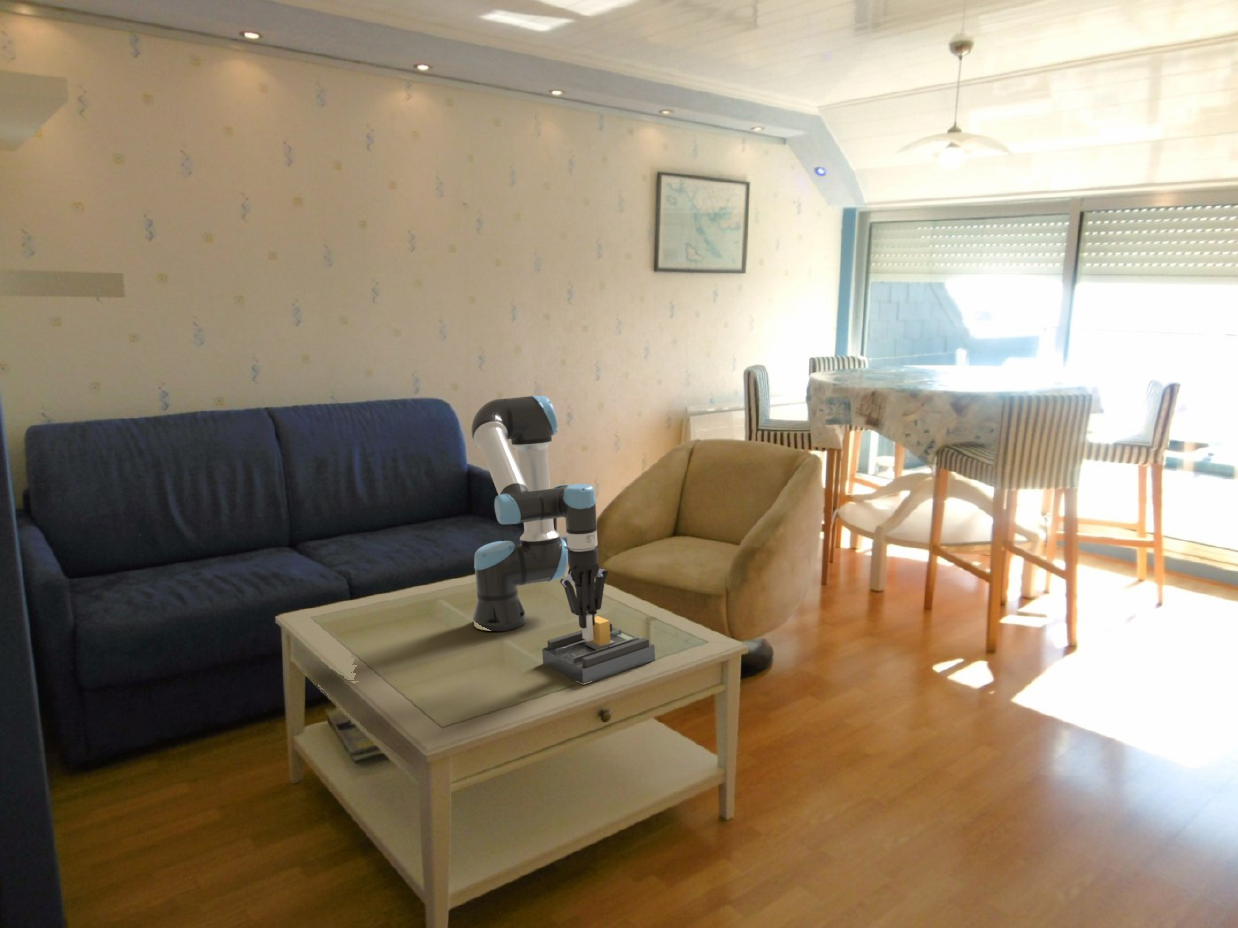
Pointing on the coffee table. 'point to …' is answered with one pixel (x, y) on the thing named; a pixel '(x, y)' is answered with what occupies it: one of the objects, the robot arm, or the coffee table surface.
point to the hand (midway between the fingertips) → (588, 638)
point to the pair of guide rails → (601, 655)
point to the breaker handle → (600, 634)
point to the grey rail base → (571, 654)
